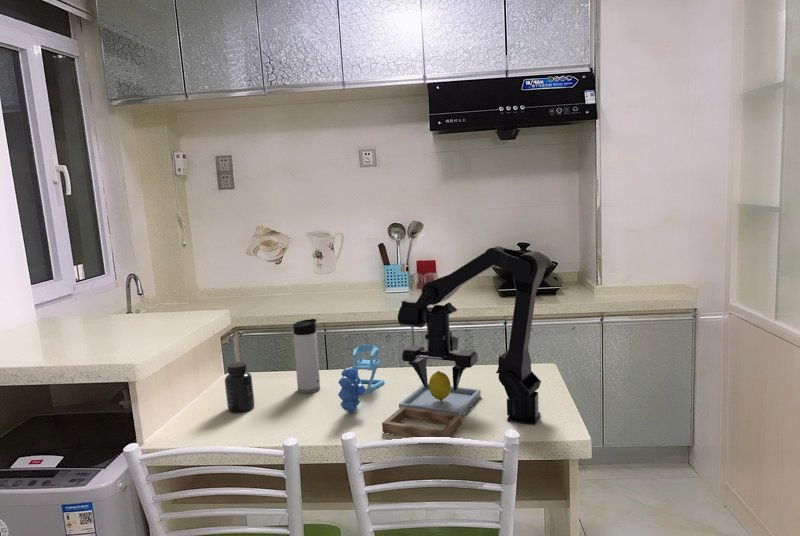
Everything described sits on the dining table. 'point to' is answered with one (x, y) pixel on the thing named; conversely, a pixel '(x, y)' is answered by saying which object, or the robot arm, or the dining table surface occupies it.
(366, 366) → the chair
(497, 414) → the dining table surface
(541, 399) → the dining table surface
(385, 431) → the holder
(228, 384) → the supplement bottle
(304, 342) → the travel mug
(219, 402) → the dining table surface
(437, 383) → the lemon
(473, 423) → the dining table surface
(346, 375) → the grapes
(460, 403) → the tray
